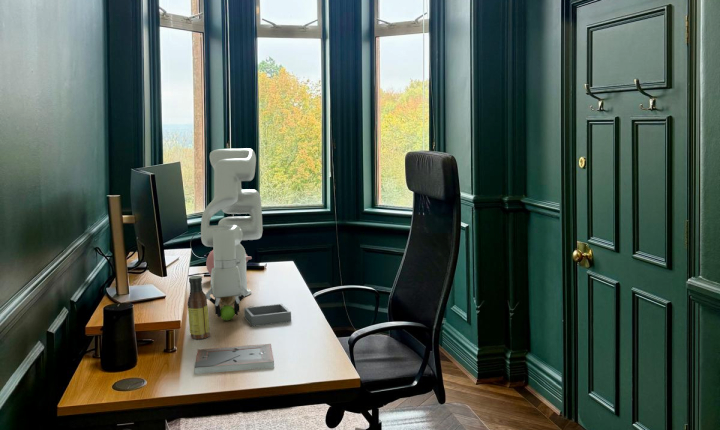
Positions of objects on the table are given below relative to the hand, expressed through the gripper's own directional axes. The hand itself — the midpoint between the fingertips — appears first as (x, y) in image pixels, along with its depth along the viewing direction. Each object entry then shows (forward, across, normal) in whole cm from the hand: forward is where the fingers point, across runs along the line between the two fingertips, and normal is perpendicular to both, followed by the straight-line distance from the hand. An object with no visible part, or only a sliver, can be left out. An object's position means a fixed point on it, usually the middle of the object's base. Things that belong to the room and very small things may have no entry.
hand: (227, 314), depth 242 cm
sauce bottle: (+2, +12, +16) cm, 20 cm away
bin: (+2, -13, +5) cm, 14 cm away
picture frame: (+3, +6, +44) cm, 44 cm away
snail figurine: (+2, 0, 0) cm, 2 cm away
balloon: (+2, -13, -66) cm, 67 cm away
